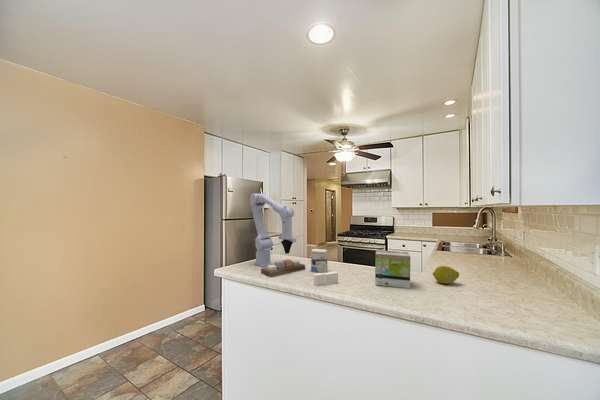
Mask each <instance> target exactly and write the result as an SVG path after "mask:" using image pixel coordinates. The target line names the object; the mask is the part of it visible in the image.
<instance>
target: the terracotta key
mask: <svg viewBox="0 0 600 400" xmlns="http://www.w3.org/2000/svg"><path fill="white" fill-rule="evenodd" d="M281 261H283V262H285V267H290V266H292V261H293V260H291V259H289V258H287V259H283V260H281Z"/></svg>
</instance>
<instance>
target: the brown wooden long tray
mask: <svg viewBox="0 0 600 400" xmlns="http://www.w3.org/2000/svg"><path fill="white" fill-rule="evenodd" d="M304 270H306V264H303V263H300V265H296V266H293V265H292V266H290V267H285V268H281V269H278V268H277V270H273V271H269V270H267V267H263V268H262V267H261V268H260V274H262V275H264V276H266V277H269V278H274V277H278V276H283V275H286V274H292V273H295V272H300V271H304Z"/></svg>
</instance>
